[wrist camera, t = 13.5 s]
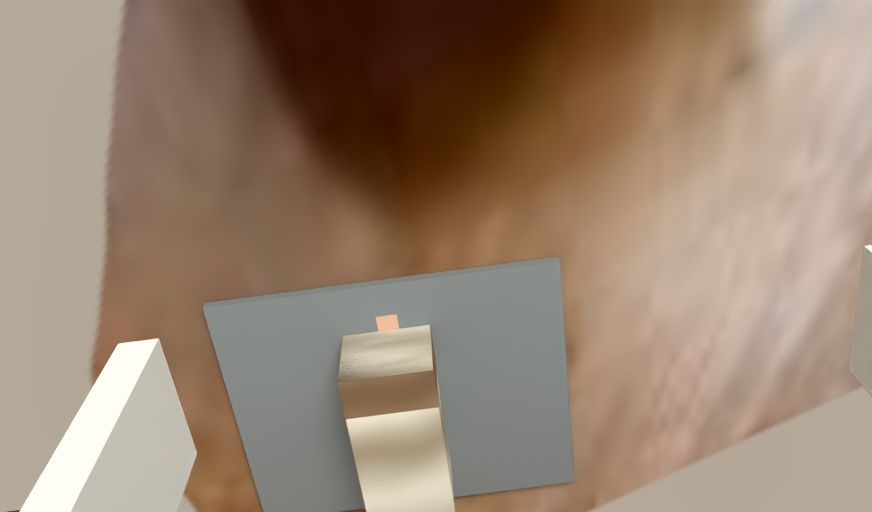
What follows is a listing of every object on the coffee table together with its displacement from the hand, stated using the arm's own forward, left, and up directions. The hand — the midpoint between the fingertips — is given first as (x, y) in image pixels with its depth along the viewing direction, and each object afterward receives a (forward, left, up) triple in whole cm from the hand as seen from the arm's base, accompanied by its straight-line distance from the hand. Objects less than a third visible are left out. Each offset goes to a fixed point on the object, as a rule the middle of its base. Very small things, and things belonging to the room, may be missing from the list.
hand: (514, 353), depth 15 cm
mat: (+5, +20, -27) cm, 34 cm away
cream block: (+5, +20, -26) cm, 33 cm away
